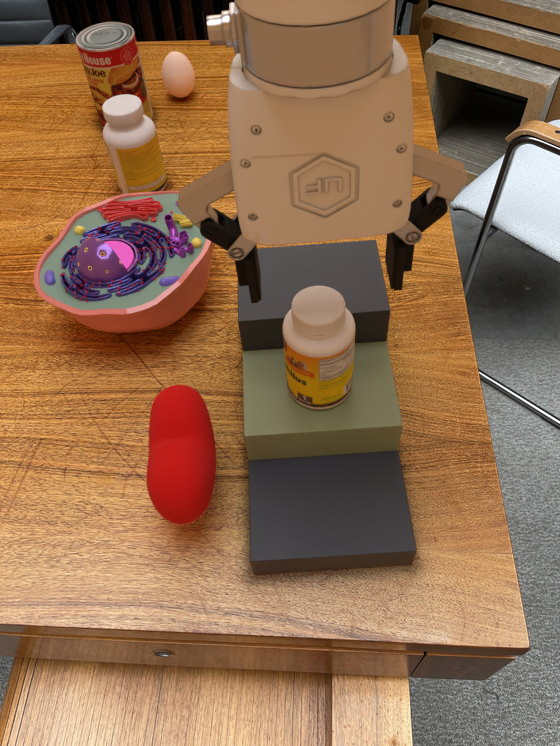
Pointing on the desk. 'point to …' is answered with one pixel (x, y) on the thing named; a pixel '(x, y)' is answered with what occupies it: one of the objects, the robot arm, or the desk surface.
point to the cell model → (126, 264)
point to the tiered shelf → (323, 425)
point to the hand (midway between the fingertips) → (324, 282)
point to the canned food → (112, 64)
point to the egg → (178, 74)
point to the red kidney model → (180, 455)
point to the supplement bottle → (319, 347)
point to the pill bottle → (133, 146)
